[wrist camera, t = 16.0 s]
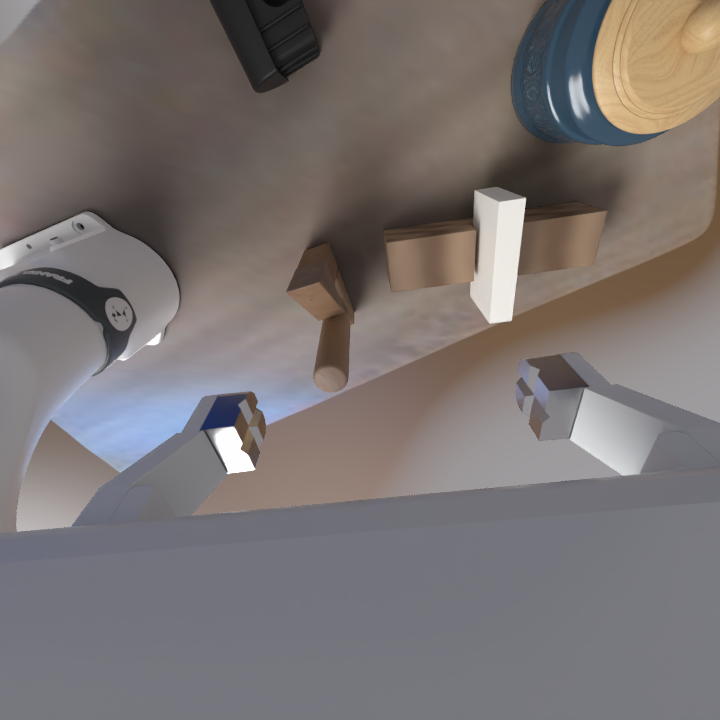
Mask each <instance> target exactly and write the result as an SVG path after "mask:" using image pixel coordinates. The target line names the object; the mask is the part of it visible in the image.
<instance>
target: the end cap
mask: <svg viewBox="0 0 720 720" xmlns="http://www.w3.org/2000/svg"><path fill="white" fill-rule="evenodd" d="M210 2H211V4H212V6H213V8H214V10H215V12H216V14H217V16H218V18H219V20H220V22H221V24H222V26H223V28H224V30H225V32H226V34H227V36H228V38H229V40H230V42H231V44H232V46H233V48H234V50H235V52H236V54H237V57H238V59H239V61H240V63H241V65H242V67H243V69H244V71H245V73H246V75H247V77H248V79H249V81H250V83H251V85H252V87H253V89H254V90H255V91H256V92H257V93H263V92H267V91H269V90H272V89H274V88H276V87H278V86H280V85H282V84H284V83H286V82H287V81H289V80H288V78H287V76H289V75H290V74H292V73H294V72H295V71H297V70H299V69H300V68H302V67H303V66H305V65H307V64H308V63H310V62H312V61H313V60H315V59H316V58H318V56H319V54H320V48H319V45H318V43H317V40H316V38H315V35H314V33H313V30H312V27H311V25H310V22H309V20H308V17H307V14H306V12H305V9H304V7H303V4H302V2H301V0H210Z"/></svg>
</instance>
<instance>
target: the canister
mask: <svg viewBox="0 0 720 720" xmlns="http://www.w3.org/2000/svg"><path fill="white" fill-rule="evenodd" d="M511 96H512V102H513V106H514V110H515V112H516V115H517V117H518V119H519V120H520V122H521V123H522V125H523V126H524V127H525V128H526V129H527V130H528V131H529V132H531V133H532V134H533V135H534V136H536V137H538V138H539V139H542V140H544V141H547V142H552V143H572V142H581V143H585V144H593V145H597V144H605V145H611V146H627V145H633V144H638V143H641V142H644V141H647V140H650V139H652V138H654V137H657V136H659V135H661V134H663V133H664V132H666V131H668V130H670V129H671V128H673V127H676V126H678V125H680V124H682V123H684V122H686V121H688V120H690V119H691V118H693V117H694V116H696V115H697V114H699V113H700V112H702V111H703V110H704V109H706V108H707V107H708V106H709V105H711V104H712V103H713V102H714V101H715V100H716V99H717V98H719V97H720V0H547V1H546V3H545V4H544V5H543V6H542V7H541V9H540V10H539V11H538V13H537V14H536V16H535V17H534V19H533V20H532V22H531V23H530V25H529V26H528V28H527V30H526V32H525V34H524V36H523V38H522V40H521V42H520V44H519V47H518V50H517V53H516V56H515V59H514V64H513V69H512V75H511Z"/></svg>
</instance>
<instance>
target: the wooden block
mask: <svg viewBox="0 0 720 720" xmlns="http://www.w3.org/2000/svg"><path fill="white" fill-rule="evenodd" d="M286 293H287V294H288V295H289V296H291V297H292V298H293V299H294V300H295V301H296V302H298V303H299V304H300V305H301V306H302V307H303V308H305V309H306V310H307V311H308V312H309V313H310V314H311V315H313V316H314V317H315V318H316V319H317V320H319V321H320V320H323V323H322V329H321V334H320V340H319V346H318V351H317V357H316V362H315V368H314V373H313V379H314V383H315V384H316V386H317V387H318V388H320V389H321V390H323V391H326V392H337V391H339V390H341V389H342V388H344V387H345V385H346V384H347V382H348V373H349V344H350V325H352V324H354V310H353V308H352V305H351V302H350V299H349V296H348V294H347V291H346V288H345V285H344V283H343V280H342V277H341V274H340V271H339V270H338V269H337V263H336V260H335V257H334V255H333V252H332V249H331V246H330V244H329V243H326V244H323V245H320V246H317V247H314V248H311V249H308V250H305V251H304V254H303V256H302V258H301V260H300V263H299V265H298V267H297V269H296V271H295V273H294V276H293V278H292V280H291V282H290V285H289V287H288V289H287V291H286Z"/></svg>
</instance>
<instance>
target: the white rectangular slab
mask: <svg viewBox="0 0 720 720" xmlns="http://www.w3.org/2000/svg"><path fill="white" fill-rule="evenodd" d="M525 204H526V198H525V197H523V196H520V195H517V194H515V193H512V192H509V191H507V190H504V189H502V188H499V187H492V188H486V189H479V190H475V193H474V217H473V228H474V229H476V246H475V267H474V281H472V282H471V290H470V296H471V298H472V299H473V301H474V302H475V303H476V305H477V306H478V308H479V309H480V311H481V312H482V313H483V315H484V316H485V318H486V319H487V321H488V322H489V323H498V322H506V321H512V314H513V305H514V297H515V288H516V280H517V272H518V263H519V255H520V246H521V238H522V229H523V221H524V213H525Z"/></svg>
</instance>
